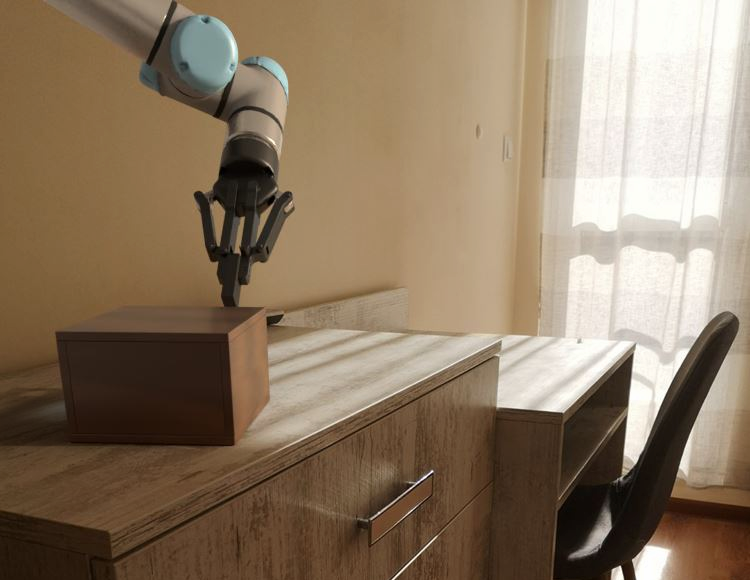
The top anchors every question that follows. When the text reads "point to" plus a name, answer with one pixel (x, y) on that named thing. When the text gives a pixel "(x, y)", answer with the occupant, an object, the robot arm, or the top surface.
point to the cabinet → (165, 374)
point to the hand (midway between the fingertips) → (229, 303)
